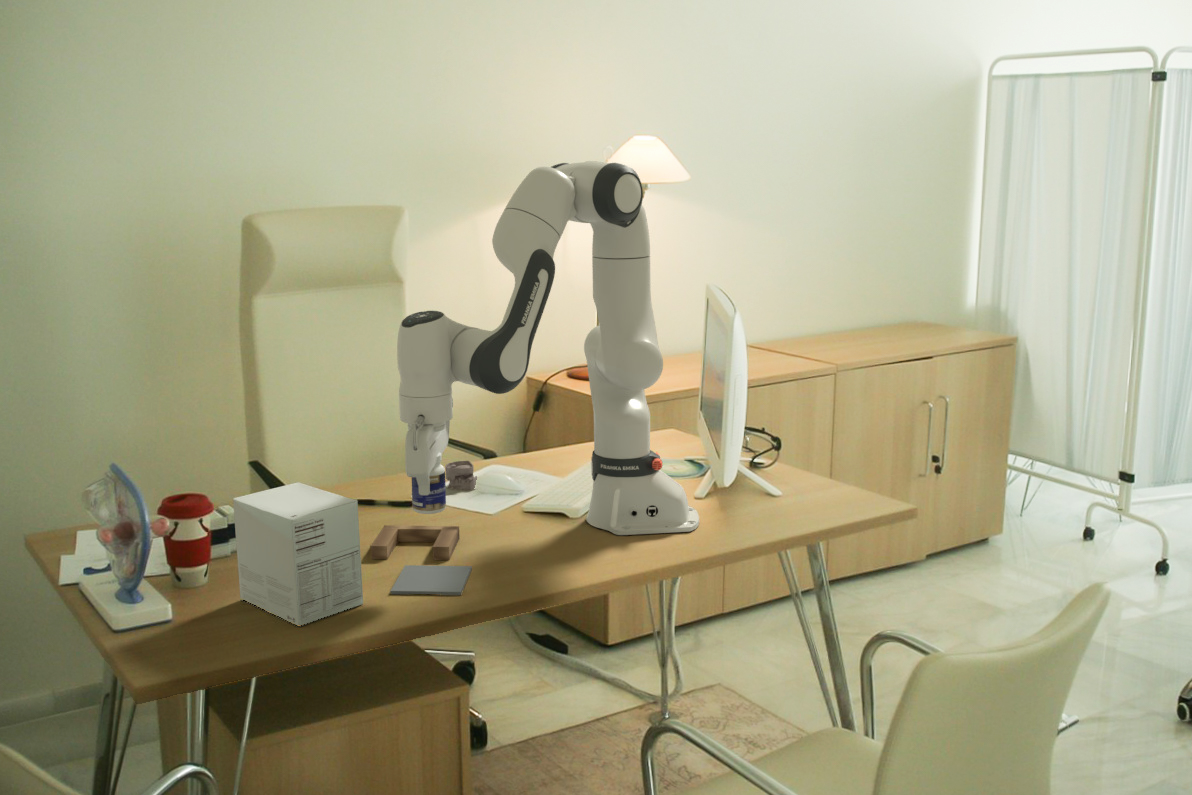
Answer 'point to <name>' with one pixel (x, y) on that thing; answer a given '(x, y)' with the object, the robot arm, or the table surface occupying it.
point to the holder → (416, 539)
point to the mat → (431, 580)
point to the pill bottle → (437, 494)
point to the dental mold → (460, 475)
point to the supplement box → (298, 552)
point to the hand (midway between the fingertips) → (428, 487)
